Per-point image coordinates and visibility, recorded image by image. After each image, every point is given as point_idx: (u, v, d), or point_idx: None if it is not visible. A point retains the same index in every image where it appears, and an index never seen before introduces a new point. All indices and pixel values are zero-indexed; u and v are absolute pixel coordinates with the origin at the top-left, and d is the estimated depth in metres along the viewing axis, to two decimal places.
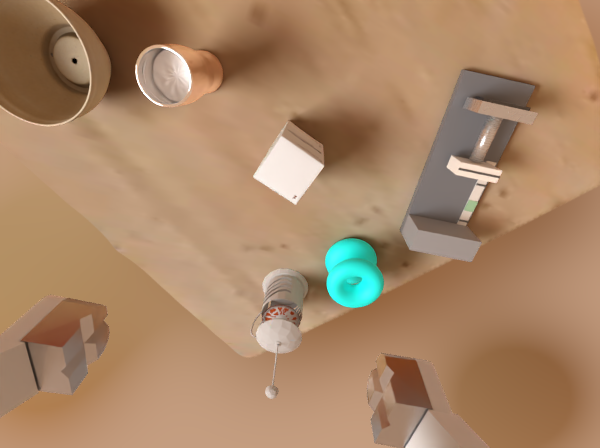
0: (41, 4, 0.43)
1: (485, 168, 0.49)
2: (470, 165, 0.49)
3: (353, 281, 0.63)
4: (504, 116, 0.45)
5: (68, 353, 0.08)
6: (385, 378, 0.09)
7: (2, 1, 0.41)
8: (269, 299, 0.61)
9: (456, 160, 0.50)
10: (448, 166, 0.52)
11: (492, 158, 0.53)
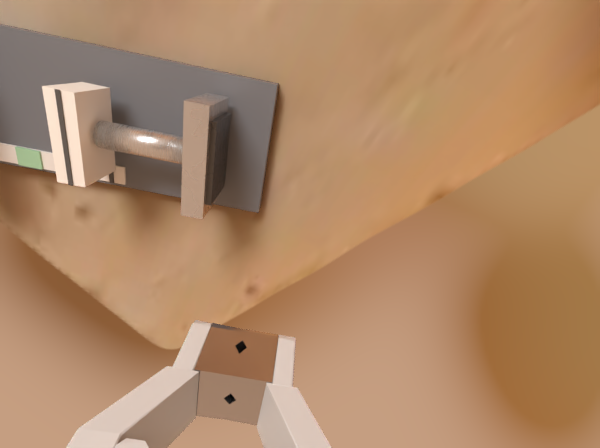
0: None
1: (79, 151, 0.22)
2: (74, 116, 0.21)
3: None
4: (187, 160, 0.22)
5: (233, 381, 0.08)
6: None
7: None
8: None
9: (87, 89, 0.22)
10: (81, 83, 0.23)
11: (131, 176, 0.29)
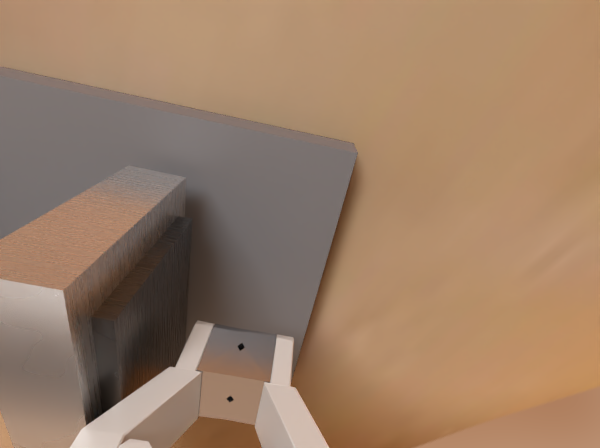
0: None
1: None
2: None
3: None
4: (23, 428, 0.06)
5: (235, 381, 0.08)
6: None
7: None
8: None
9: None
10: None
11: None
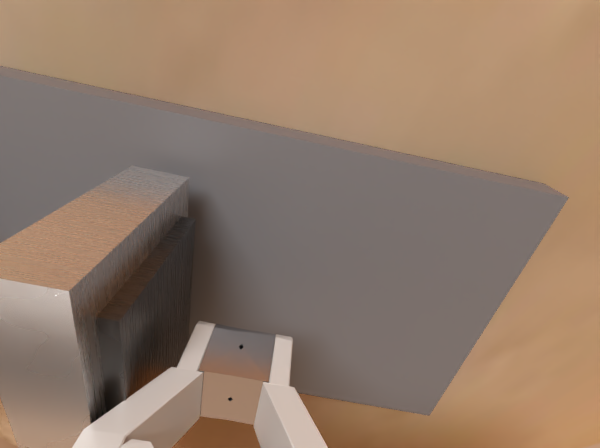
0: None
1: None
2: None
3: None
4: (28, 428, 0.06)
5: (237, 381, 0.08)
6: None
7: None
8: None
9: None
10: None
11: None
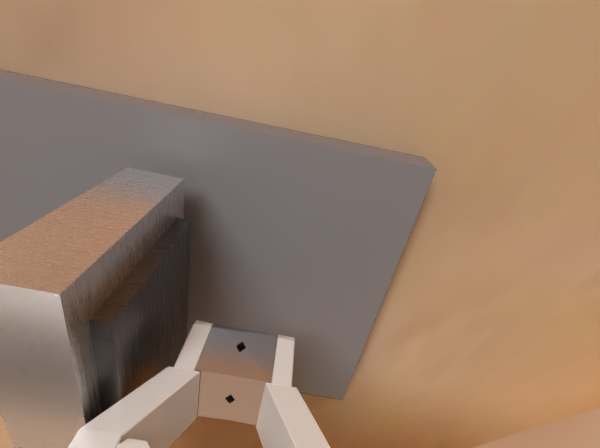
0: None
1: None
2: None
3: None
4: (24, 430, 0.06)
5: (234, 381, 0.08)
6: None
7: None
8: None
9: None
10: None
11: None
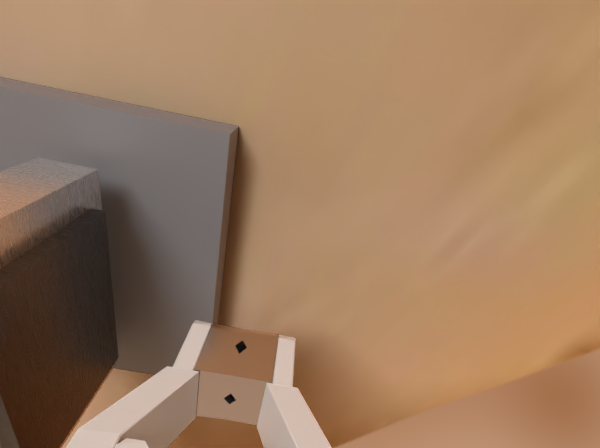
0: None
1: None
2: None
3: None
4: None
5: (233, 381, 0.08)
6: None
7: None
8: None
9: None
10: None
11: None
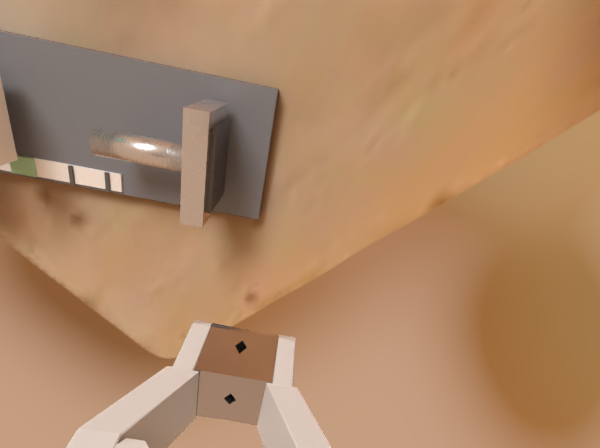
0: None
1: None
2: None
3: None
4: (186, 168, 0.21)
5: (233, 381, 0.08)
6: None
7: None
8: None
9: None
10: None
11: (128, 183, 0.28)
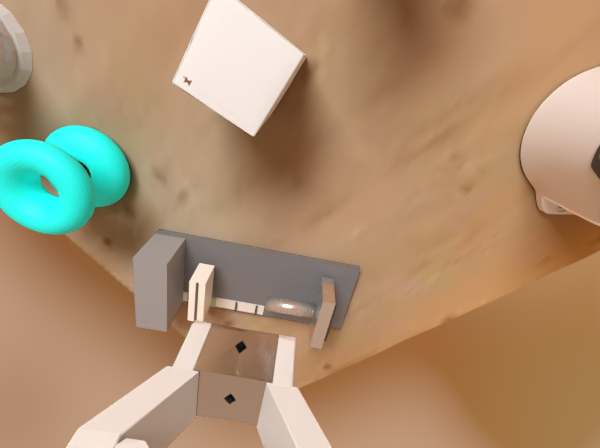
0: None
1: (202, 307, 0.42)
2: (203, 293, 0.40)
3: None
4: (318, 324, 0.41)
5: (233, 381, 0.08)
6: None
7: None
8: None
9: (207, 275, 0.41)
10: (200, 265, 0.43)
11: None
